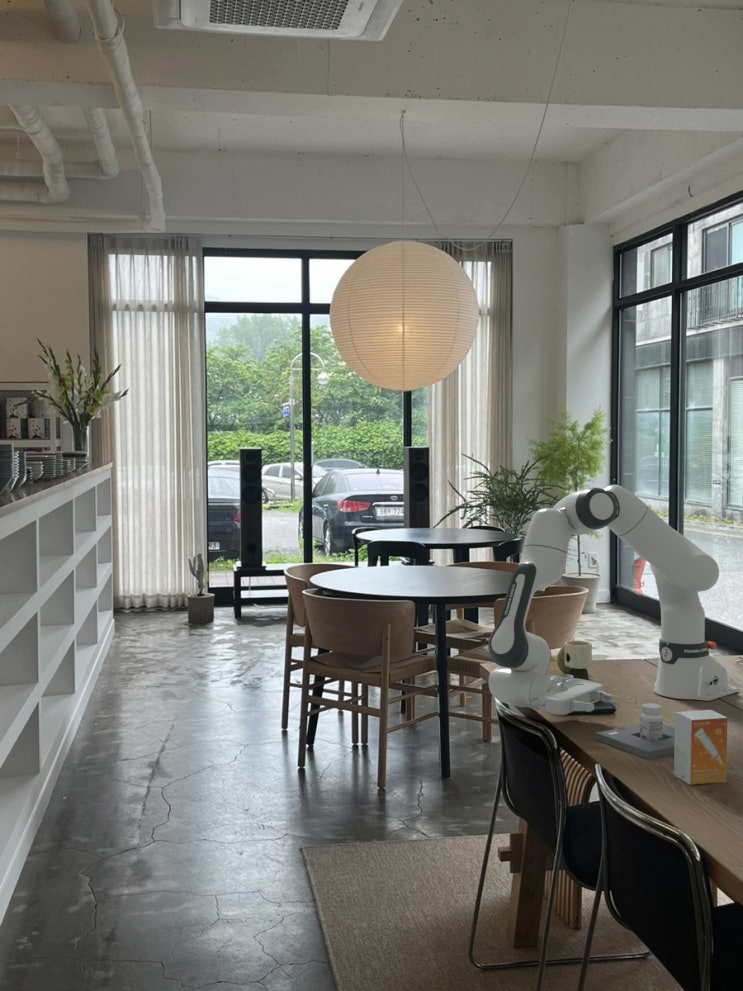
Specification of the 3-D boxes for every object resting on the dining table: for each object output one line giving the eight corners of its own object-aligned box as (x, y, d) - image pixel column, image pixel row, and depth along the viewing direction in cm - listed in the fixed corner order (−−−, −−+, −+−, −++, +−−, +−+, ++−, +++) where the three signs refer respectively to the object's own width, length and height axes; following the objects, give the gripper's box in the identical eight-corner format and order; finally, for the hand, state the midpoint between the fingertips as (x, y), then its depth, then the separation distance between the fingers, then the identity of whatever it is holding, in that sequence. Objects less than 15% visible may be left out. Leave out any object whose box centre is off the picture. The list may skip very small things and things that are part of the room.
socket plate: (654, 728, 231) (654, 721, 231) (708, 746, 217) (708, 738, 217) (596, 739, 222) (596, 732, 222) (648, 759, 208) (648, 751, 208)
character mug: (563, 685, 272) (564, 638, 271) (590, 686, 271) (590, 639, 270) (565, 695, 261) (565, 646, 261) (592, 696, 260) (593, 647, 259)
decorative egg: (582, 673, 287) (583, 639, 286) (582, 678, 280) (582, 643, 279) (557, 671, 288) (557, 637, 288) (556, 677, 281) (556, 642, 281)
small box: (690, 786, 192) (691, 719, 191) (673, 775, 198) (673, 711, 197) (727, 782, 194) (728, 717, 193) (709, 772, 200) (710, 708, 199)
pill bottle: (637, 740, 222) (637, 703, 221) (657, 739, 222) (657, 702, 222) (644, 746, 217) (645, 708, 216) (665, 745, 217) (666, 708, 217)
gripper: (526, 688, 228) (580, 698, 219) (571, 673, 243) (623, 681, 234) (526, 715, 228) (580, 726, 219) (571, 698, 244) (622, 708, 235)
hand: (602, 703), depth 227 cm, fingers open, 8 cm apart
